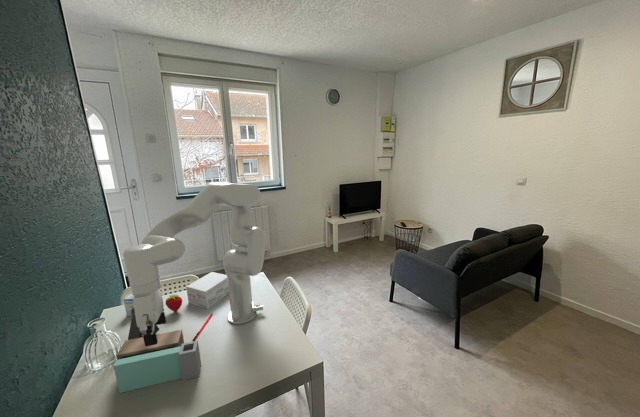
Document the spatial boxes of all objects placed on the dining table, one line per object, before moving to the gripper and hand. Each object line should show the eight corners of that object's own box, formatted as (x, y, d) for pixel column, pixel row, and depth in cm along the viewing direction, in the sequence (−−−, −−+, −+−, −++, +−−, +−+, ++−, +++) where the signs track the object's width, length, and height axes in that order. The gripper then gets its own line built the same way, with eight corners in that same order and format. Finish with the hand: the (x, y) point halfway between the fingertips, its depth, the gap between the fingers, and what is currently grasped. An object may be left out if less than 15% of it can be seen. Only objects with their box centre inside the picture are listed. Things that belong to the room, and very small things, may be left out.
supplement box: (213, 286, 144) (211, 271, 142) (232, 291, 139) (230, 275, 137) (187, 303, 129) (185, 286, 126) (207, 309, 123) (205, 291, 121)
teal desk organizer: (201, 364, 91) (197, 340, 89) (199, 376, 86) (195, 350, 84) (124, 382, 84) (118, 356, 82) (117, 396, 80) (111, 369, 77)
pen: (190, 344, 101) (190, 342, 101) (211, 314, 120) (211, 312, 119) (193, 344, 101) (192, 342, 101) (213, 314, 120) (213, 312, 119)
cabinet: (199, 347, 99) (197, 326, 97) (194, 374, 87) (191, 351, 85) (129, 362, 92) (125, 340, 91) (113, 394, 80) (107, 370, 78)
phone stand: (137, 344, 101) (132, 317, 99) (127, 340, 104) (122, 313, 101) (159, 329, 109) (154, 304, 107) (149, 326, 112) (145, 301, 109)
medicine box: (136, 306, 126) (133, 290, 124) (146, 305, 127) (143, 289, 125) (126, 316, 119) (122, 299, 117) (136, 315, 119) (133, 298, 117)
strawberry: (177, 316, 118) (174, 297, 115) (163, 315, 119) (160, 295, 117) (187, 309, 123) (184, 290, 121) (173, 307, 125) (170, 288, 123)
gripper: (141, 274, 85) (151, 319, 89) (119, 303, 69) (132, 357, 73) (167, 270, 87) (175, 314, 91) (151, 298, 71) (162, 350, 75)
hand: (156, 333), depth 82 cm, fingers open, 9 cm apart
